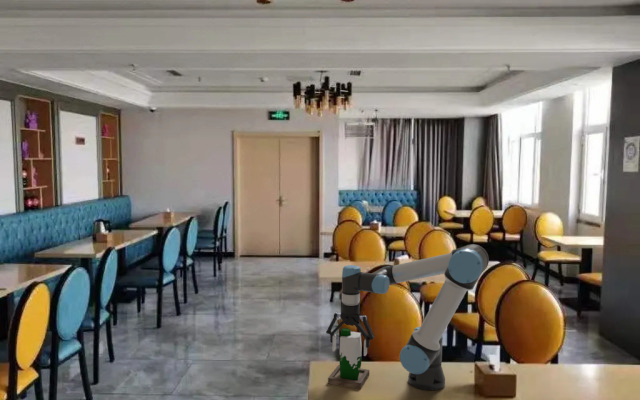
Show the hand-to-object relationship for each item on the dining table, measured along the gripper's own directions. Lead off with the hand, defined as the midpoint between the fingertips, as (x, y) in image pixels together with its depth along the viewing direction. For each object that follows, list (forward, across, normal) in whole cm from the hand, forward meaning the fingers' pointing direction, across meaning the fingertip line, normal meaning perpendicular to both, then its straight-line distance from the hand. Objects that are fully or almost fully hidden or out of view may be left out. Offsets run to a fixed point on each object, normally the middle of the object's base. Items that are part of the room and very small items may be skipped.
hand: (349, 352), depth 221 cm
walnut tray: (+12, 0, 0) cm, 12 cm away
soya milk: (+10, 0, 0) cm, 10 cm away
